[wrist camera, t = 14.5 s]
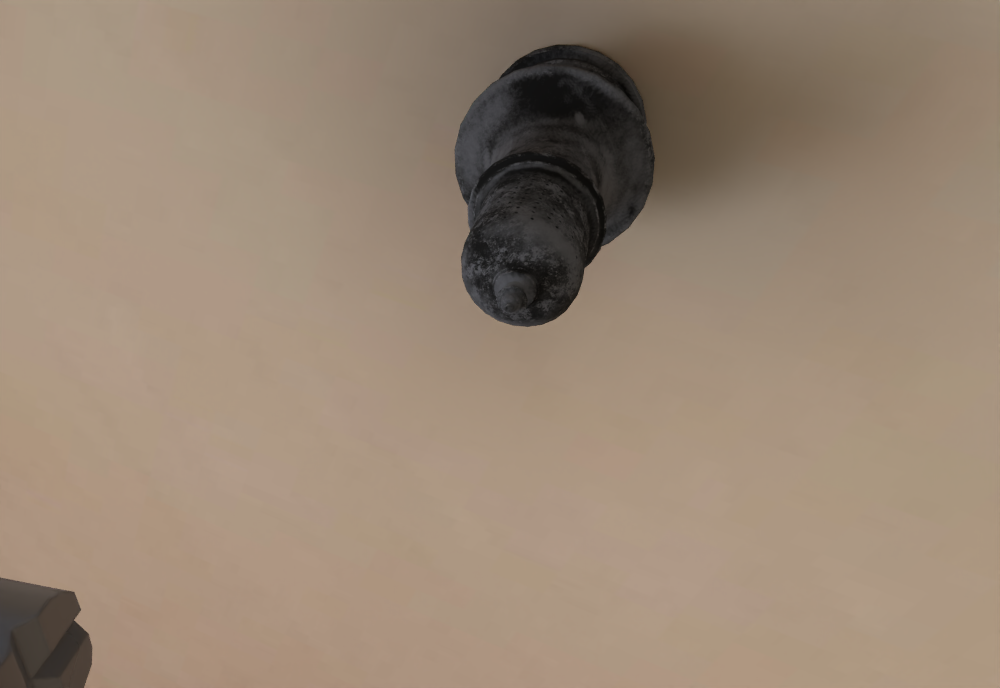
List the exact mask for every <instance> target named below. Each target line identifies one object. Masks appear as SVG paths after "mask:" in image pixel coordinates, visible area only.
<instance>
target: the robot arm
mask: <svg viewBox="0 0 1000 688" xmlns="http://www.w3.org/2000/svg"><path fill="white" fill-rule="evenodd" d="M80 611H81V608H80V606H79V603H78V600H77V598H76V595H75V593H74V592H72V591H67V590H62V589H57V588H51V587H46V586H41V585H36V584H31V583H25V582H20V581H15V580H10V579H5V578H0V688H84V686H85V683H86V680H87V677H88V674H89V671H90V668H91V665H92V644H91V641H90V637H89V634H88V633H87V632H86V631H85V630H84V629H83V628H82V627H81V626H80V625H78V624H77V623H76V622H75V621H74V619H75V618H76V616H77V615H78V614H79V612H80Z"/></svg>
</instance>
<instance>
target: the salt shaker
mask: <svg viewBox="0 0 1000 688" xmlns="http://www.w3.org/2000/svg"><path fill="white" fill-rule="evenodd" d="M654 161H655V157H654V151H653V146H652V141H651V135H650V131H649V129H648V127H647V125H646V116H645V111H644V106H643V100H642V98H641V96H640V94H639V92H638V90H637V88H636V86H635V84H634V82H633V80H632V79H631V78H630V77H629V76H628V75H627V74H626V72H625V71H624V70H623V69H622V68H621V67H620V66H619V65H618V64H617V63H615V62H614V61H612V60H611V59H609V58H608V57H606V56H604V55H603V54H601V53H600V52H597V51H593V50H590V49H587V48H584V47H581V46H568V45H555V46H551V47H547V48H543V49H538V50H535V51H533V52H531V53H529V54H528V55H526V56H524V57H522V58H520V59H519V60H517V61H515V62H514V63H513V64H512V65H511V66H510V67H509V68H508V69H507V70H506V71H505V72H504V73H503V74H502V75H501V77H500V78H499V80H497V81H495V82H493V83H492V84H491V85H490V86H489V87H488V88H487V89H486V90H485V91H484V92H483V93H482V94H481V95H480V96H479V97H478V98H477V99H476V100H475V101H474V102H473V104H472V105H471V107H470V109H469V111H468V113H467V114H466V116H465V118H464V120H463V121H462V123H461V125H460V129H459V134H458V138H457V142H456V146H455V170H456V177H457V180H458V183H459V186H460V190H461V193H462V196H463V198H464V200H465V202H466V203H467V205H468V224H469V227H470V233H469V235H468V237H467V239H466V242H465V244H464V248H463V252H462V256H461V263H462V278H463V281H464V284H465V287H466V290H467V292H468V293H469V295H470V296H471V298H472V300H473V301H474V303H475V304H476V305H477V306H479V307H480V308H481V309H482V310H483V311H484V312H485V313H486V314H488V315H490V316H491V317H493V318H495V319H496V320H498V321H501V322H504V323H507V324H510V325H514V326H525V327H529V326H536V325H542V324H545V323H547V322H550V321H552V320H554V319H556V318H557V317H559V316H560V315H561V314H563V313H564V312H565V311H566V310H567V309H568V307H569V306H570V305H571V303H572V302H573V300H574V299H575V298H576V296H577V295H578V292H579V289H580V286H581V283H582V280H583V274H584V268H585V267H586V266H587V265H589V264H590V263H591V262H592V260H593V259H594V257H595V256H596V255H597V253H598V252H599V251H600V249H601V246H604V245H606V244H608V243H610V242H611V241H612V240H614V239H615V238H616V237H617V236H619V235H620V234H621V233H623V232H624V231H625V230H626V229H628V228H629V226H630V225H631V224H632V222H633V221H634V220H635V218H636V217H637V216H638V214H639V213H640V212H641V210H642V209H643V207H644V205H645V202H646V200H647V197H648V194H649V192H650V189H651V187H652V183H653V172H654Z"/></svg>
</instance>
